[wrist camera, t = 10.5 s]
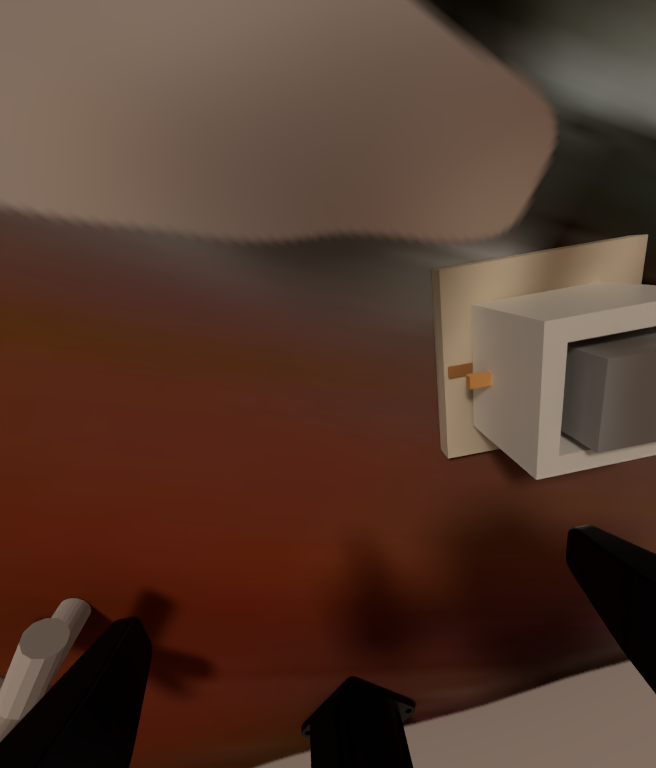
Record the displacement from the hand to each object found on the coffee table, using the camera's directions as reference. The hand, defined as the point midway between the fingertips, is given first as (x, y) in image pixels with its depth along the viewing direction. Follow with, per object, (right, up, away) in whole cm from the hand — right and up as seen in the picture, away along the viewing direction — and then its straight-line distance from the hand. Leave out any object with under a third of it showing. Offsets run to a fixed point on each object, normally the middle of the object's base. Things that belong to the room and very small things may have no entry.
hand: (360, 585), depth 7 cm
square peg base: (+10, +6, +12) cm, 16 cm away
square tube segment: (+10, +6, +11) cm, 15 cm away
